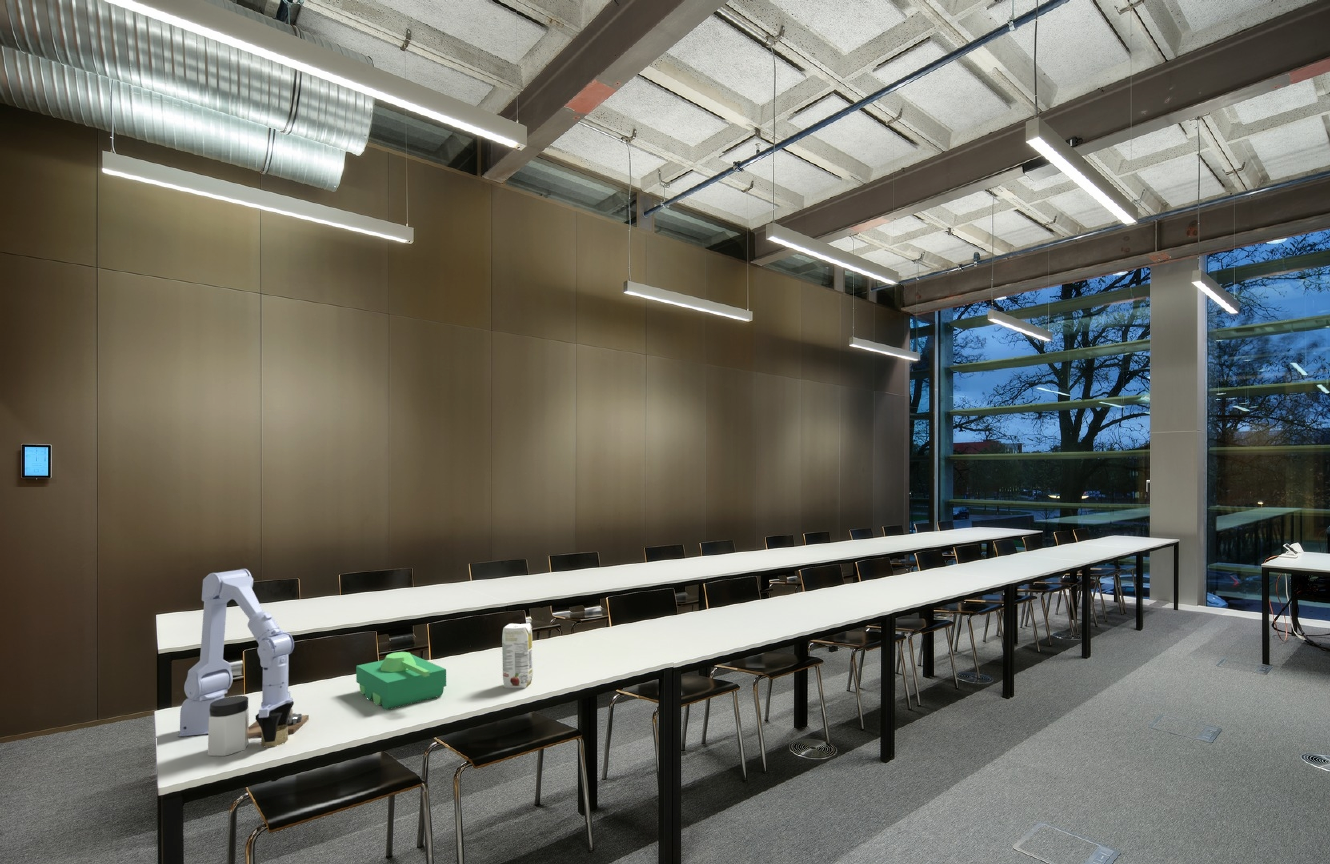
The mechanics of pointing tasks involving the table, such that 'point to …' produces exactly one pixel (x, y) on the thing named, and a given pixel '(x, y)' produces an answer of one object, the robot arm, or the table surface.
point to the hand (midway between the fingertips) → (274, 736)
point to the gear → (294, 719)
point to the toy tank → (400, 680)
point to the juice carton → (517, 655)
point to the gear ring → (277, 736)
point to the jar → (228, 726)
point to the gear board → (257, 732)
